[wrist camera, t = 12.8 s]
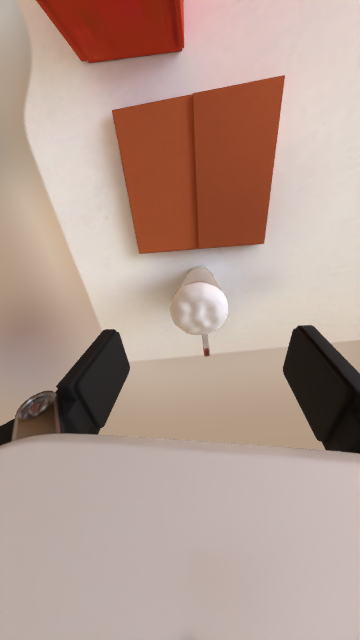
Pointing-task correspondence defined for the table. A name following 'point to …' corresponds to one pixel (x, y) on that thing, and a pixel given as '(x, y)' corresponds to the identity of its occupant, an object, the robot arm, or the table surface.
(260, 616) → the robot arm
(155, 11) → the file binder
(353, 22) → the table surface
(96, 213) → the table surface
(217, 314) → the milkshake
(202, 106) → the cloth
